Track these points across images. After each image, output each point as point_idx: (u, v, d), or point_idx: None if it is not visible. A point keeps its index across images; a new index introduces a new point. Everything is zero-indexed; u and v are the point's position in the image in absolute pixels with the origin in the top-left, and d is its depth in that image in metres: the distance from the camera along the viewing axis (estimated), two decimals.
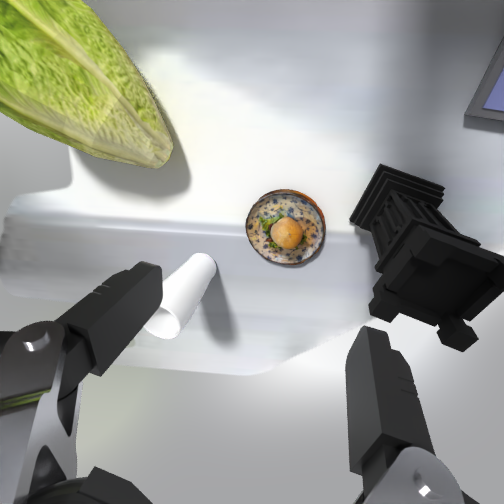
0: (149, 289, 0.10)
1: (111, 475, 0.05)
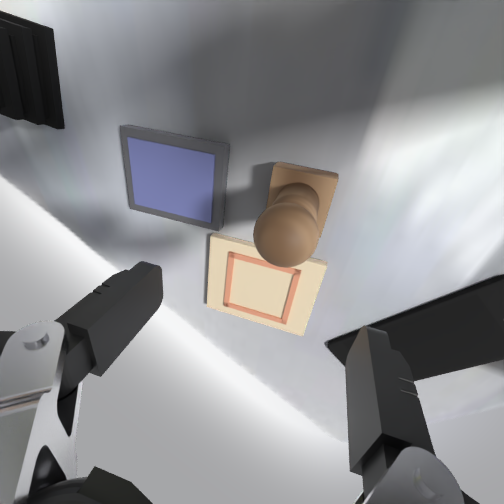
0: (150, 289, 0.10)
1: (111, 475, 0.05)
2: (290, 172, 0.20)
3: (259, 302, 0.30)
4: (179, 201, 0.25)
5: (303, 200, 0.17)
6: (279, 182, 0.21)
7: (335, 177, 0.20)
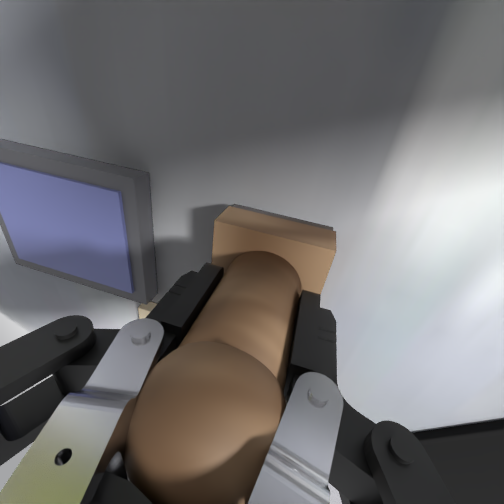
0: None
1: (111, 475, 0.05)
2: (246, 233, 0.11)
3: None
4: (80, 259, 0.16)
5: (258, 318, 0.08)
6: (228, 248, 0.11)
7: (330, 244, 0.10)
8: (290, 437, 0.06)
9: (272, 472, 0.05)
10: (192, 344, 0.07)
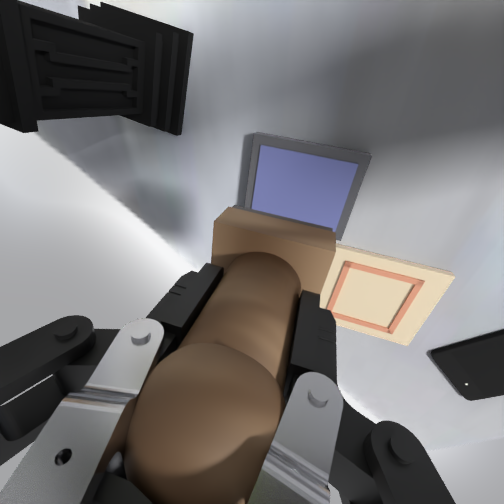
0: None
1: (111, 475, 0.05)
2: (245, 234, 0.11)
3: (366, 312, 0.29)
4: (304, 210, 0.25)
5: (257, 320, 0.08)
6: (227, 249, 0.11)
7: (330, 245, 0.10)
8: (290, 437, 0.06)
9: (272, 472, 0.05)
10: (191, 346, 0.07)
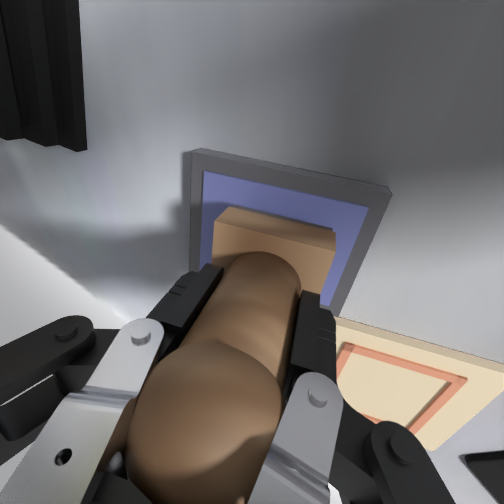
0: None
1: (111, 475, 0.05)
2: (246, 233, 0.11)
3: (375, 406, 0.20)
4: None
5: (258, 319, 0.08)
6: (228, 248, 0.11)
7: (330, 245, 0.10)
8: (290, 437, 0.06)
9: (272, 472, 0.05)
10: (192, 344, 0.07)
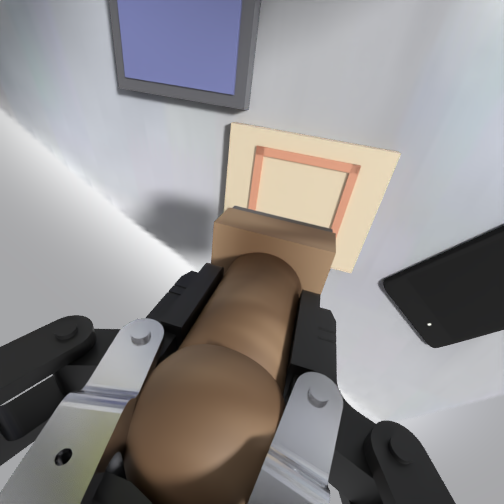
0: None
1: (111, 475, 0.05)
2: (245, 234, 0.11)
3: None
4: (188, 61, 0.18)
5: (257, 321, 0.08)
6: (227, 249, 0.11)
7: (330, 246, 0.10)
8: (290, 437, 0.06)
9: (272, 472, 0.05)
10: (192, 347, 0.07)
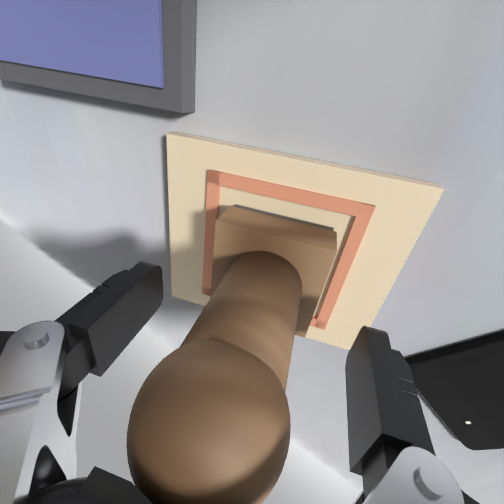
0: (149, 289, 0.10)
1: (111, 475, 0.05)
2: (247, 233, 0.11)
3: None
4: (82, 31, 0.10)
5: (259, 318, 0.08)
6: (229, 248, 0.11)
7: (331, 244, 0.11)
8: None
9: None
10: (194, 343, 0.07)
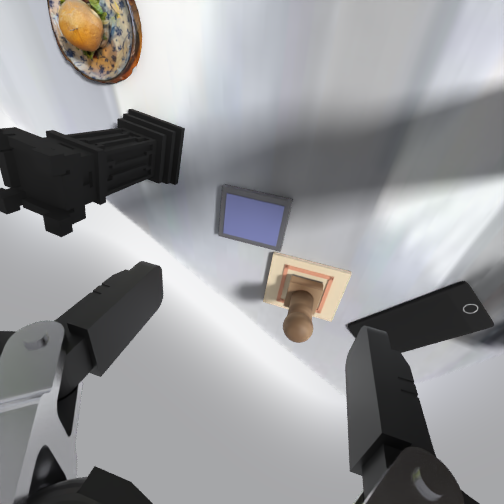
0: (150, 289, 0.10)
1: (111, 475, 0.05)
2: (298, 285, 0.39)
3: None
4: (255, 232, 0.39)
5: (305, 307, 0.36)
6: (292, 289, 0.40)
7: (321, 288, 0.39)
8: None
9: None
10: (294, 312, 0.36)
